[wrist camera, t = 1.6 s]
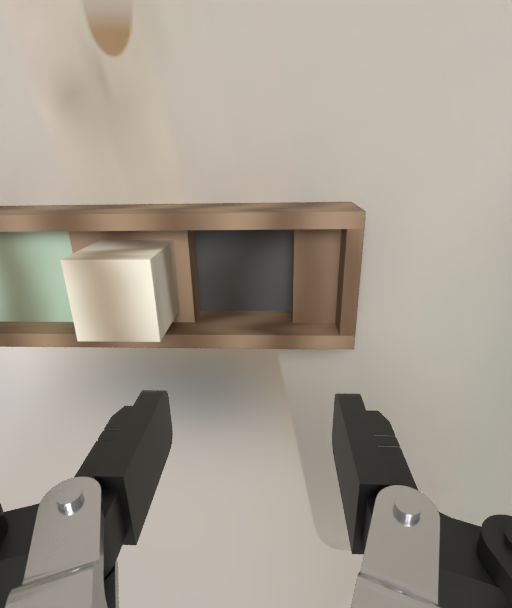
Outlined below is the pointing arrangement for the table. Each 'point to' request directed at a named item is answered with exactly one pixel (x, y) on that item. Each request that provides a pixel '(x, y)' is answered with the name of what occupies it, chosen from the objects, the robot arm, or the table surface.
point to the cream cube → (122, 290)
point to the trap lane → (196, 271)
